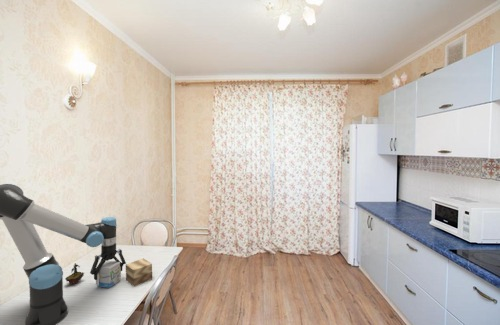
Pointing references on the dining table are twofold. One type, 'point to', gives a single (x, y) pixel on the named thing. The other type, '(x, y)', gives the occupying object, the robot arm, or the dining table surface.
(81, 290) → the dining table surface
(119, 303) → the dining table surface
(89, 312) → the dining table surface
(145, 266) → the slab top
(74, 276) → the figurine
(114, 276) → the ink box
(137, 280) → the slab bottom
